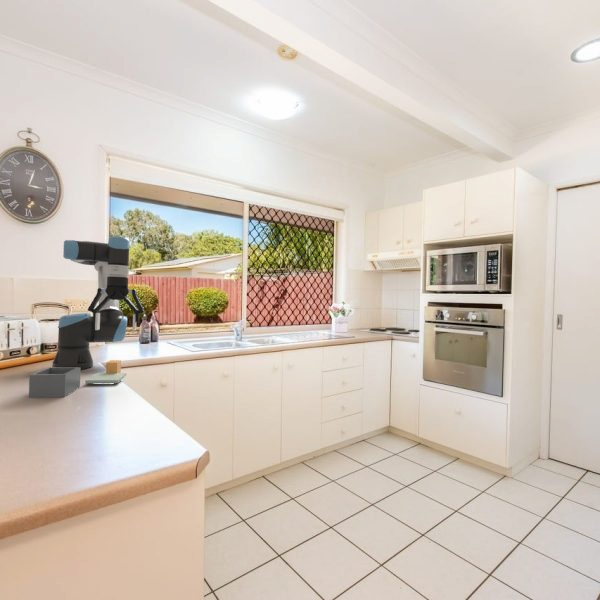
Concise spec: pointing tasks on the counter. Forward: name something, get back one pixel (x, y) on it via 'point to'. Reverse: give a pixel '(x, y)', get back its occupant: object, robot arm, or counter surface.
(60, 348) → the robot arm
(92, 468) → the counter surface
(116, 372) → the lid
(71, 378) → the tub
